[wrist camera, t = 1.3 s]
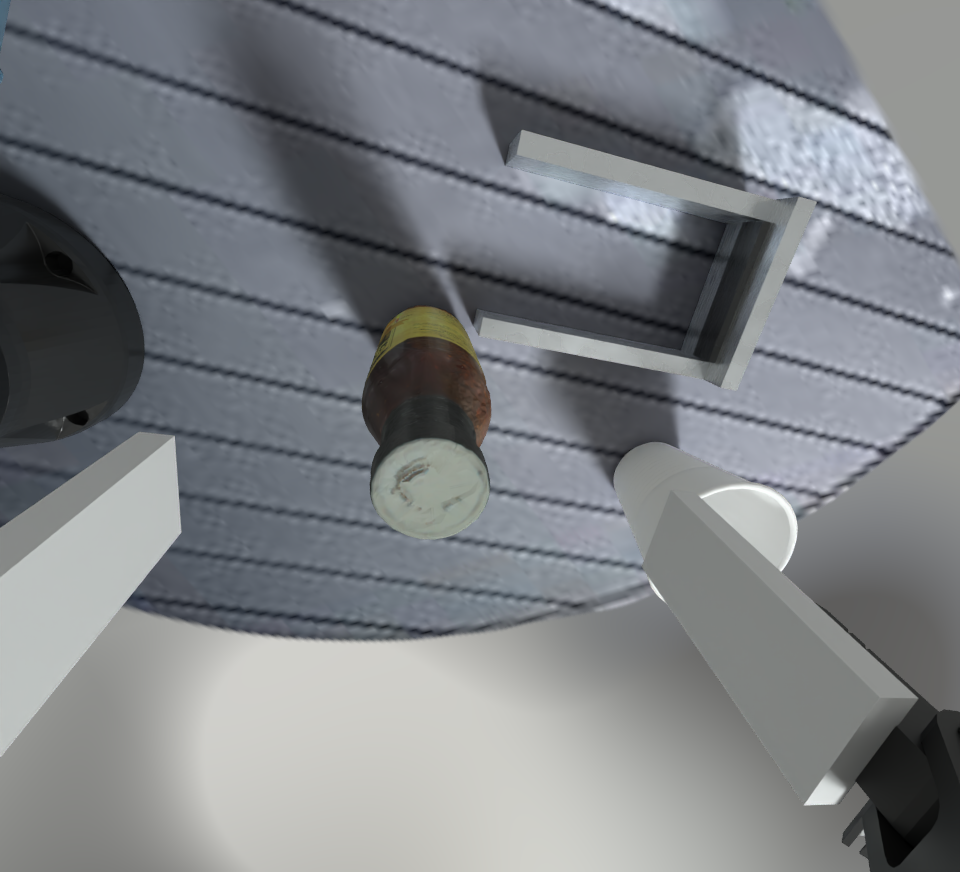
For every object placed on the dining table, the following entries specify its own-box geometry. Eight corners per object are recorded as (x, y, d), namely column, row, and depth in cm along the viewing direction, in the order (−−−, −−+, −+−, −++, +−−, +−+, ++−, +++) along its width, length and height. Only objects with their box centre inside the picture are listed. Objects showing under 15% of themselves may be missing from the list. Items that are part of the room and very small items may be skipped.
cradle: (473, 325, 33) (482, 342, 27) (509, 144, 29) (529, 120, 23) (688, 368, 36) (736, 390, 30) (749, 209, 32) (816, 201, 26)
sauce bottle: (375, 306, 32) (307, 392, 13) (466, 299, 32) (519, 373, 14) (388, 397, 34) (346, 572, 16) (472, 389, 35) (524, 551, 16)
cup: (645, 541, 42) (714, 635, 32) (565, 486, 39) (615, 571, 29) (725, 460, 40) (828, 534, 30) (648, 395, 36) (733, 453, 26)
